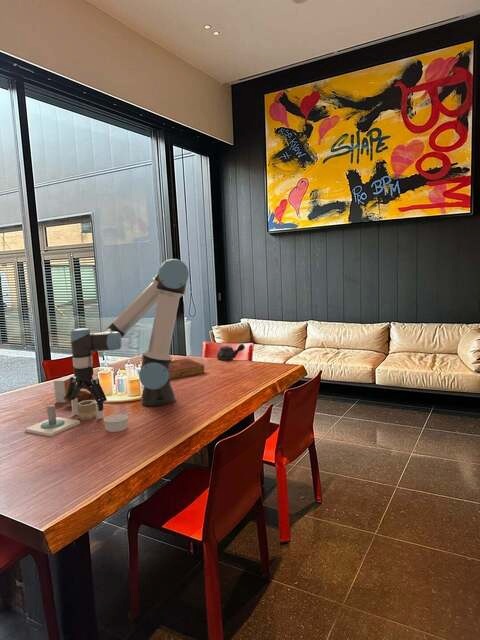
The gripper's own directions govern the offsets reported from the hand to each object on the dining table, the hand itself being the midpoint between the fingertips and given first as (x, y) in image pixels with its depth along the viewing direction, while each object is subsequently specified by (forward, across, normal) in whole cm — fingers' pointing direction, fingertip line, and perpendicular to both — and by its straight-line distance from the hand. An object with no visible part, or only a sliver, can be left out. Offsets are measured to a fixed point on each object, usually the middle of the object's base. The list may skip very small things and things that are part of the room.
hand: (87, 416), depth 178 cm
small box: (0, +28, -14) cm, 31 cm away
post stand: (0, +4, +14) cm, 15 cm away
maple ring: (0, 0, 0) cm, 0 cm away
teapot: (0, -8, -115) cm, 116 cm away
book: (+1, +8, -73) cm, 73 cm away
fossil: (0, +14, -10) cm, 17 cm away
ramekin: (0, -21, +6) cm, 22 cm away
